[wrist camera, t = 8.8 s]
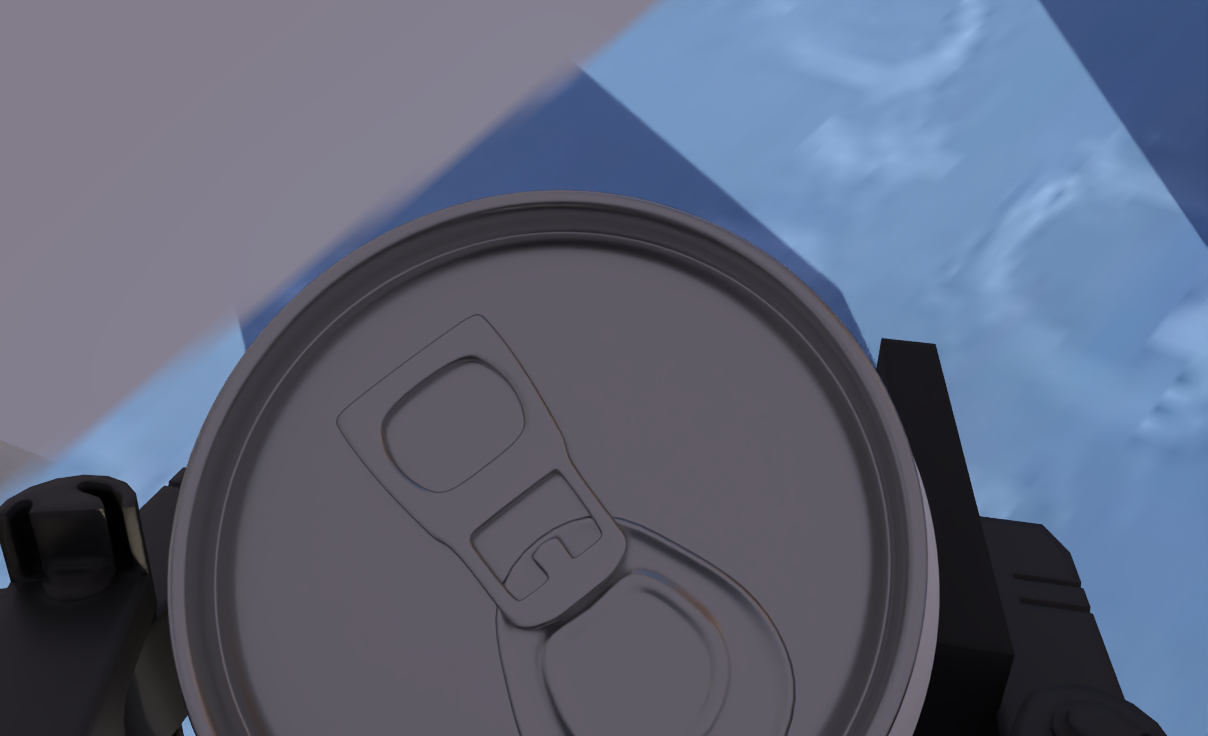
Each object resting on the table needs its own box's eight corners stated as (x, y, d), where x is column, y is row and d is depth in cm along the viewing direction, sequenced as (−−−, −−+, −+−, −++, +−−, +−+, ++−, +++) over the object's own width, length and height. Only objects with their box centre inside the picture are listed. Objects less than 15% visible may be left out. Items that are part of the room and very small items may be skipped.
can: (610, 922, 17) (420, 1298, 6) (400, 615, 19) (-34, 465, 8) (897, 677, 18) (1201, 602, 7) (667, 406, 20) (612, 6, 9)
